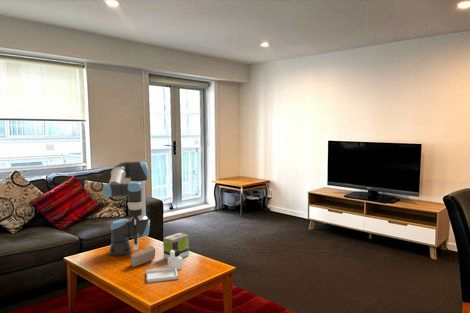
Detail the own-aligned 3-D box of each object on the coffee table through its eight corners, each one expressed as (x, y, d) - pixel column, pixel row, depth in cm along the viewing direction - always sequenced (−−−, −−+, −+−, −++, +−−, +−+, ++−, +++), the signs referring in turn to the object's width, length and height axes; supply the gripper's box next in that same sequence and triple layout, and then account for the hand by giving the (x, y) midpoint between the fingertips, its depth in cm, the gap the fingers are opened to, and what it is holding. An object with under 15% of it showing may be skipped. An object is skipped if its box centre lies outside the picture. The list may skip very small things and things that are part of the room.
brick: (133, 257, 217) (130, 253, 220) (132, 268, 220) (129, 263, 223) (156, 248, 228) (152, 245, 231) (155, 259, 231) (151, 255, 234)
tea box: (179, 252, 247) (179, 232, 246) (189, 255, 240) (189, 234, 239) (163, 258, 235) (162, 237, 234) (172, 261, 229) (172, 240, 228)
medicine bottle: (177, 265, 223) (177, 247, 223) (183, 268, 218) (182, 250, 217) (167, 268, 219) (167, 249, 218) (173, 271, 213) (172, 252, 213)
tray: (146, 273, 210) (146, 270, 210) (176, 270, 215) (176, 267, 214) (146, 282, 197) (146, 279, 197) (178, 279, 201) (178, 275, 201)
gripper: (129, 205, 208) (129, 241, 210) (127, 213, 188) (128, 253, 189) (141, 204, 210) (142, 240, 212) (141, 212, 190) (142, 252, 191)
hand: (136, 246), depth 201 cm, fingers open, 8 cm apart
